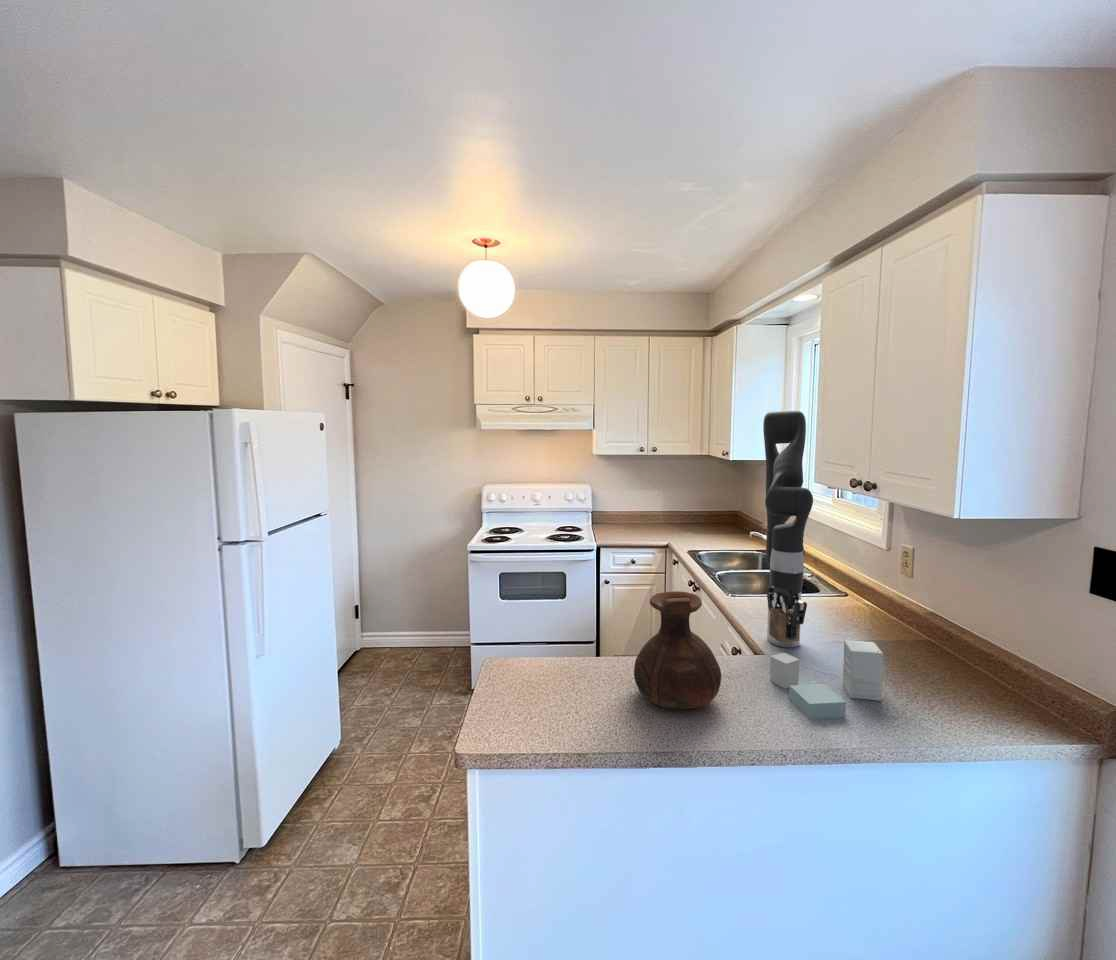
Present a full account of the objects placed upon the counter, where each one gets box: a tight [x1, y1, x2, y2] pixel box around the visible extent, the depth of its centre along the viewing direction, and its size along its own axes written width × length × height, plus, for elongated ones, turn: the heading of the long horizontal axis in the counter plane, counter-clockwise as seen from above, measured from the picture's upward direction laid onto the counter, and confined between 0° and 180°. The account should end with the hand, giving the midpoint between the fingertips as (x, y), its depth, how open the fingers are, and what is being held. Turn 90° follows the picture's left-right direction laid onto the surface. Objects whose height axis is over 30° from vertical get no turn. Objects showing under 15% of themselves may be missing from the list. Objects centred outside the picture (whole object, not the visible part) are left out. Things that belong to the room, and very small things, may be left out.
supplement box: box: [842, 639, 884, 702], centre depth 135 cm, size 7×7×13 cm
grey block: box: [769, 652, 800, 689], centre depth 142 cm, size 5×5×7 cm
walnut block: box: [769, 607, 801, 642], centre depth 131 cm, size 5×5×7 cm
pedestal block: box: [788, 683, 847, 720], centre depth 129 cm, size 9×9×4 cm
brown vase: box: [633, 590, 722, 710], centre depth 133 cm, size 22×22×30 cm
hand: (784, 633), depth 131 cm, fingers closed on walnut block, 5 cm apart
